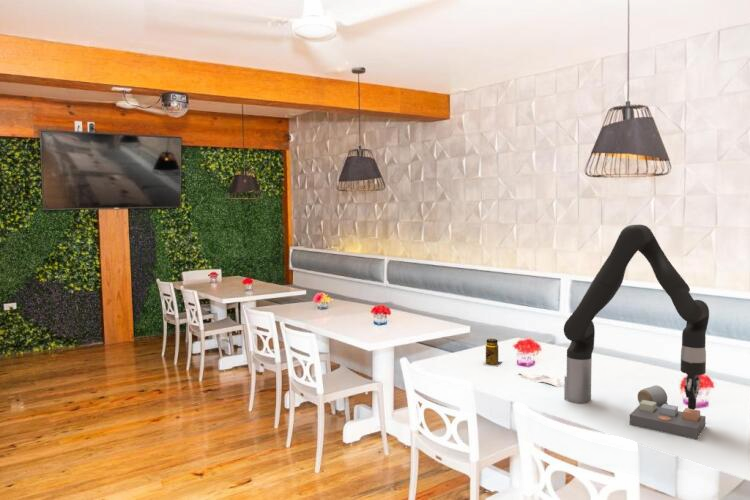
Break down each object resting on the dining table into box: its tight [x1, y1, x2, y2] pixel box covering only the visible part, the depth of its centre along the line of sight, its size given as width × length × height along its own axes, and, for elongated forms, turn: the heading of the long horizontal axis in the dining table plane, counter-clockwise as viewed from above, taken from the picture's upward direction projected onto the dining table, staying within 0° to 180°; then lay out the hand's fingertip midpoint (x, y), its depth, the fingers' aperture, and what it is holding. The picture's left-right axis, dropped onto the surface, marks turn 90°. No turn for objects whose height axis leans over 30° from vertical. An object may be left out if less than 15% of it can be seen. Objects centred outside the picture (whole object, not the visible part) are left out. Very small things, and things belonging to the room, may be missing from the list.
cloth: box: [517, 372, 565, 388], centre depth 257 cm, size 26×14×2 cm, turn 28°
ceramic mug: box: [637, 384, 669, 408], centre depth 220 cm, size 11×8×8 cm
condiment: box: [483, 338, 503, 367], centre depth 284 cm, size 7×8×12 cm
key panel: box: [629, 405, 706, 440], centre depth 203 cm, size 21×14×4 cm, turn 51°
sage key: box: [638, 400, 656, 413], centre depth 209 cm, size 4×4×3 cm
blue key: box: [660, 403, 679, 417], centre depth 205 cm, size 4×4×3 cm
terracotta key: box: [682, 407, 701, 422], centre depth 200 cm, size 4×4×3 cm
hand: (692, 408), depth 200 cm, fingers closed
